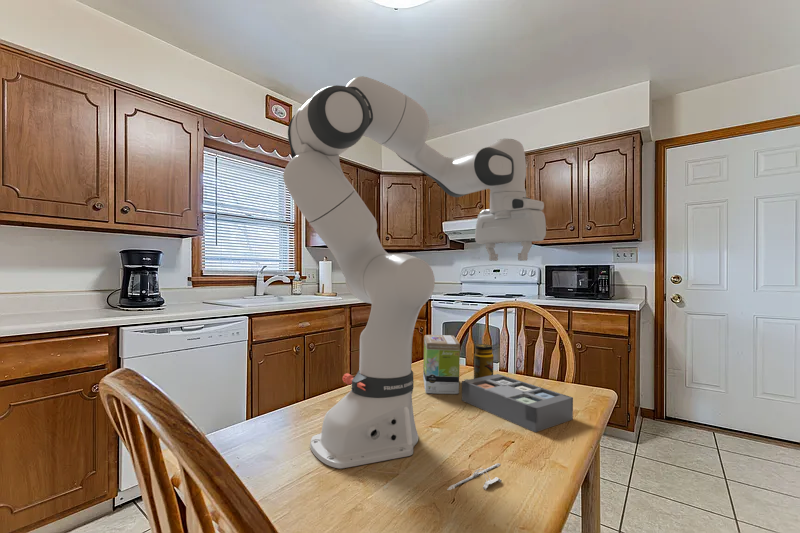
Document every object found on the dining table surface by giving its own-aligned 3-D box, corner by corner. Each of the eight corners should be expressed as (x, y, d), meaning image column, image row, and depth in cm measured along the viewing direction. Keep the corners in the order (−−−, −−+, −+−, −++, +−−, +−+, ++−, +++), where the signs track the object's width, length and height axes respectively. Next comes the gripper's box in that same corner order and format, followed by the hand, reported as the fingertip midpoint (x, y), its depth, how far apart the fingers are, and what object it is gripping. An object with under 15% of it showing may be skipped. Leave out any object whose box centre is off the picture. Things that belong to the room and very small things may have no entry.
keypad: (535, 432, 87) (535, 408, 87) (461, 400, 107) (462, 381, 107) (572, 419, 95) (573, 397, 95) (497, 392, 115) (497, 373, 115)
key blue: (546, 406, 94) (546, 399, 94) (532, 401, 98) (532, 394, 98) (556, 403, 97) (556, 396, 97) (542, 398, 100) (542, 392, 100)
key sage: (527, 411, 91) (527, 404, 91) (513, 406, 94) (513, 399, 94) (538, 408, 93) (538, 401, 93) (524, 403, 96) (524, 396, 96)
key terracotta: (485, 395, 101) (486, 389, 101) (475, 391, 105) (475, 385, 105) (496, 393, 104) (496, 387, 104) (485, 389, 107) (485, 383, 107)
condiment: (497, 386, 120) (498, 347, 120) (471, 387, 119) (471, 348, 119) (489, 379, 127) (489, 342, 127) (464, 380, 126) (464, 343, 126)
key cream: (524, 398, 100) (524, 391, 100) (511, 393, 103) (511, 387, 103) (534, 395, 102) (534, 389, 102) (521, 391, 105) (522, 385, 105)
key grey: (504, 391, 105) (504, 385, 105) (493, 387, 109) (493, 381, 109) (514, 388, 108) (514, 383, 108) (503, 385, 111) (503, 379, 111)
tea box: (460, 394, 112) (460, 343, 112) (425, 394, 112) (425, 342, 112) (453, 379, 127) (454, 334, 127) (422, 379, 127) (423, 333, 127)
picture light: (498, 465, 73) (499, 453, 73) (518, 475, 70) (519, 463, 70) (445, 491, 64) (446, 478, 64) (465, 504, 61) (465, 491, 61)
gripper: (469, 209, 106) (469, 260, 106) (532, 199, 89) (532, 260, 89) (486, 211, 109) (486, 260, 109) (550, 201, 92) (549, 260, 92)
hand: (507, 260), depth 99 cm, fingers open, 8 cm apart
